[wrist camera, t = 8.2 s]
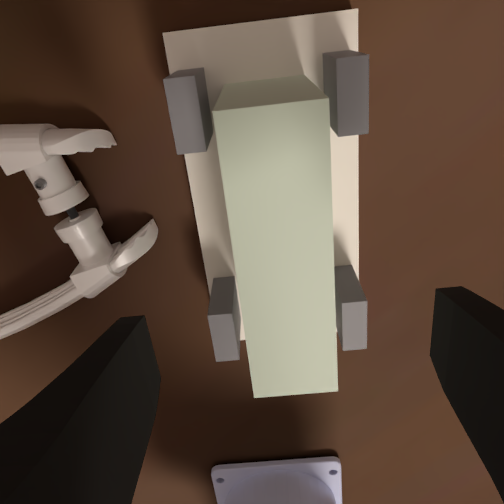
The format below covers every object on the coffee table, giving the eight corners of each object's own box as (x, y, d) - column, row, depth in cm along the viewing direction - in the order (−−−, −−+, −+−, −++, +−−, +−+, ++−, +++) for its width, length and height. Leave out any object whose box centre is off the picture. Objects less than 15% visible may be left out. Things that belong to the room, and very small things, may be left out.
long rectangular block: (316, 298, 21) (338, 391, 16) (253, 304, 21) (253, 398, 16) (304, 74, 17) (329, 98, 11) (224, 84, 17) (212, 111, 12)
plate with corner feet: (354, 317, 23) (373, 371, 19) (219, 329, 23) (213, 385, 20) (352, 9, 17) (379, 5, 13) (167, 32, 17) (144, 34, 13)
